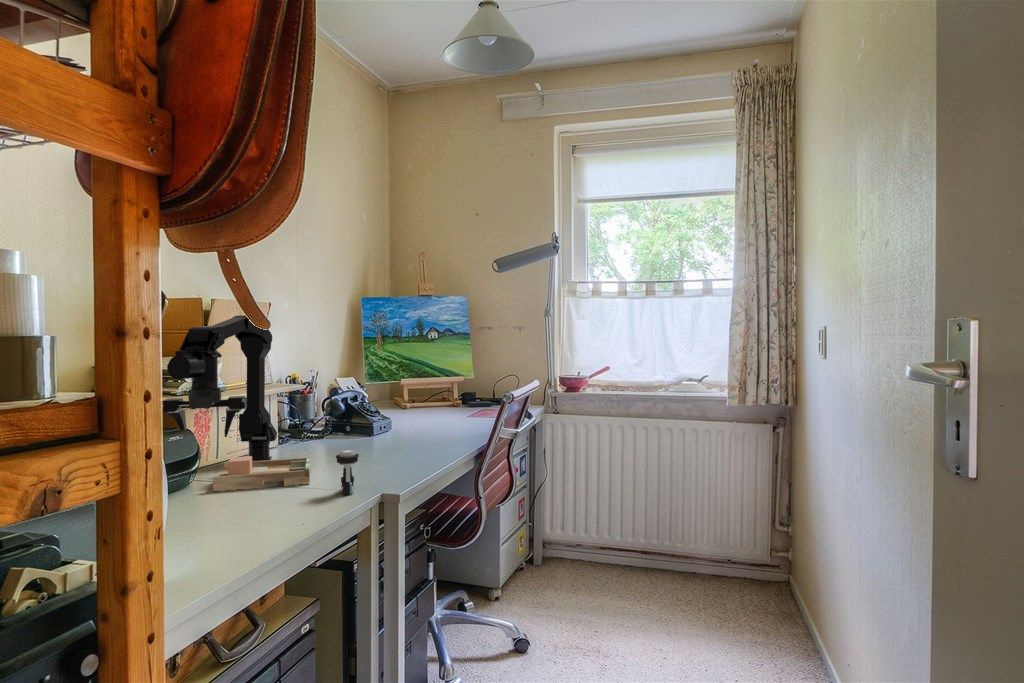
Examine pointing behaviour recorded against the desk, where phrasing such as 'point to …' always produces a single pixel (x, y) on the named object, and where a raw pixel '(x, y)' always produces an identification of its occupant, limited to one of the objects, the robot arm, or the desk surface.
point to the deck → (267, 475)
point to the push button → (347, 469)
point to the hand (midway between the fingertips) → (205, 437)
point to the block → (240, 465)
